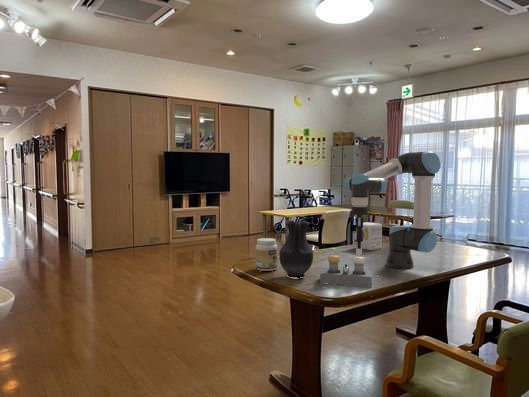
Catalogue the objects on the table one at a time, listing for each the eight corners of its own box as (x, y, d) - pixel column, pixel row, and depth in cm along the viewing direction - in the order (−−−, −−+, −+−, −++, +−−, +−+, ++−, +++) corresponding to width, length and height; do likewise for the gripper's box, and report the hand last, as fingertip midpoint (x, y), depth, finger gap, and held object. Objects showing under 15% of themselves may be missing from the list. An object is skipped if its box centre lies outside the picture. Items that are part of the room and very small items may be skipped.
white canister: (355, 247, 283) (355, 223, 282) (366, 245, 291) (367, 222, 290) (370, 250, 273) (370, 225, 271) (382, 248, 281) (382, 223, 279)
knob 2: (364, 272, 193) (364, 256, 192) (364, 274, 188) (364, 259, 187) (353, 271, 194) (353, 256, 194) (352, 274, 189) (353, 258, 189)
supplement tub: (270, 273, 210) (270, 242, 209) (251, 270, 216) (251, 240, 215) (281, 268, 221) (281, 238, 220) (262, 266, 227) (262, 237, 226)
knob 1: (339, 270, 196) (339, 255, 196) (338, 273, 191) (339, 257, 190) (328, 269, 197) (328, 255, 197) (327, 272, 192) (327, 257, 192)
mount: (371, 280, 196) (371, 270, 195) (371, 287, 184) (371, 276, 184) (322, 277, 202) (322, 267, 201) (320, 283, 190) (320, 273, 190)
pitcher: (311, 273, 211) (312, 217, 209) (315, 283, 190) (315, 222, 188) (279, 272, 212) (279, 217, 210) (279, 283, 191) (279, 222, 189)
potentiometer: (349, 273, 191) (349, 263, 191) (348, 274, 188) (348, 265, 188) (343, 272, 192) (343, 263, 192) (342, 274, 189) (342, 264, 189)
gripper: (352, 204, 196) (351, 251, 198) (351, 207, 184) (350, 257, 185) (367, 205, 194) (367, 252, 196) (367, 207, 182) (367, 258, 183)
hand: (359, 254), depth 190 cm, fingers closed
